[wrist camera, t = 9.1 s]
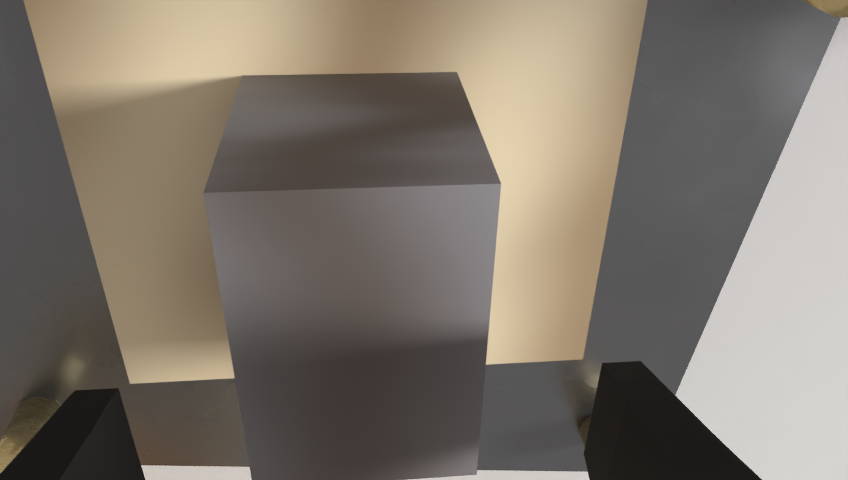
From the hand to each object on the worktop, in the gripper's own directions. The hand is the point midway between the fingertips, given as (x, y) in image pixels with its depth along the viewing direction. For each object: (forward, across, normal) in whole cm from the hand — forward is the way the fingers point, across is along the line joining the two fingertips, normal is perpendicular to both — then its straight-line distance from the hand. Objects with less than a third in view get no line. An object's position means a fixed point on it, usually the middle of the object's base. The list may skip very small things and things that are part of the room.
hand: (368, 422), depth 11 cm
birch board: (+6, 0, -1) cm, 6 cm away
